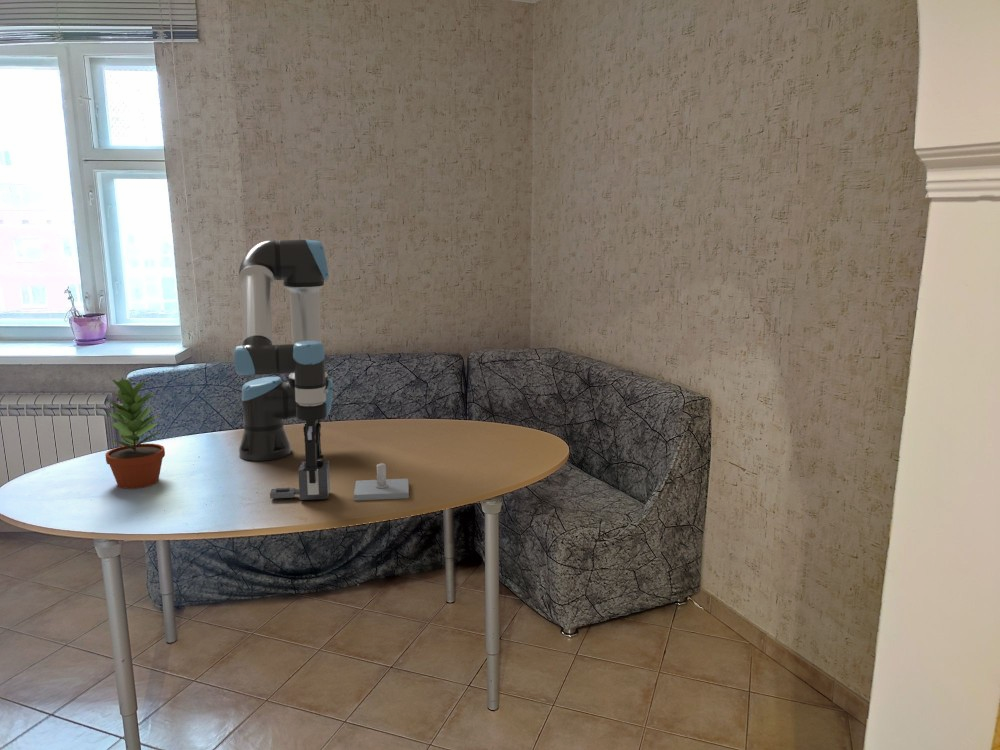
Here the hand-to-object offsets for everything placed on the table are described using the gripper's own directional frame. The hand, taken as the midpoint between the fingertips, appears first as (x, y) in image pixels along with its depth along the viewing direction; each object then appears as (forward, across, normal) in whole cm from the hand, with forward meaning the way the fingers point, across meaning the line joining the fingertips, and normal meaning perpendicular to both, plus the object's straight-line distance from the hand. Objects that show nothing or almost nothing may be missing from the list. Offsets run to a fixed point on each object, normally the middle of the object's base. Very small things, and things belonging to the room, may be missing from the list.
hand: (315, 488), depth 196 cm
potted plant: (+3, +18, +49) cm, 52 cm away
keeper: (+2, +2, -17) cm, 17 cm away
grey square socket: (+2, 0, +4) cm, 4 cm away
